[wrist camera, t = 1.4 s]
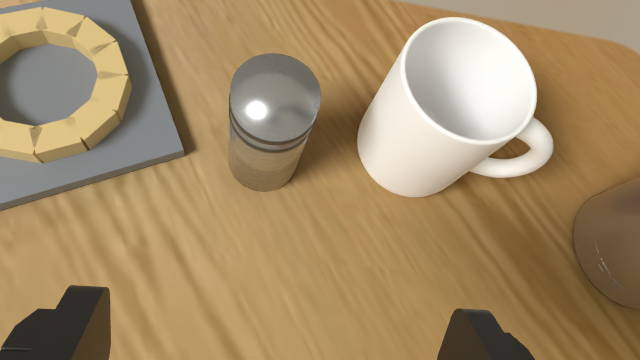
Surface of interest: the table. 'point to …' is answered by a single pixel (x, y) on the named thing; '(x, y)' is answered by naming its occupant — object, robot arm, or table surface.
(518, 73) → the mug
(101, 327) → the robot arm
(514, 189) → the table surface
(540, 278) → the table surface
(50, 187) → the ring block
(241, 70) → the piston
